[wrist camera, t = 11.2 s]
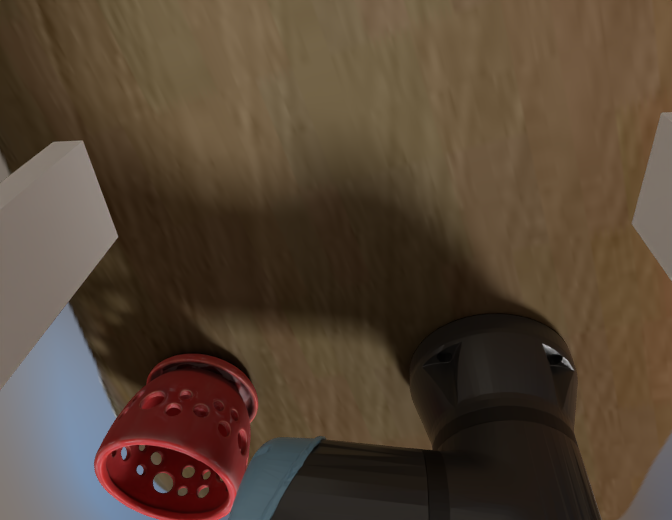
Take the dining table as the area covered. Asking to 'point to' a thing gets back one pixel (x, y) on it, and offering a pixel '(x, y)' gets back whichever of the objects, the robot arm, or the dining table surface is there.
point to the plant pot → (182, 439)
